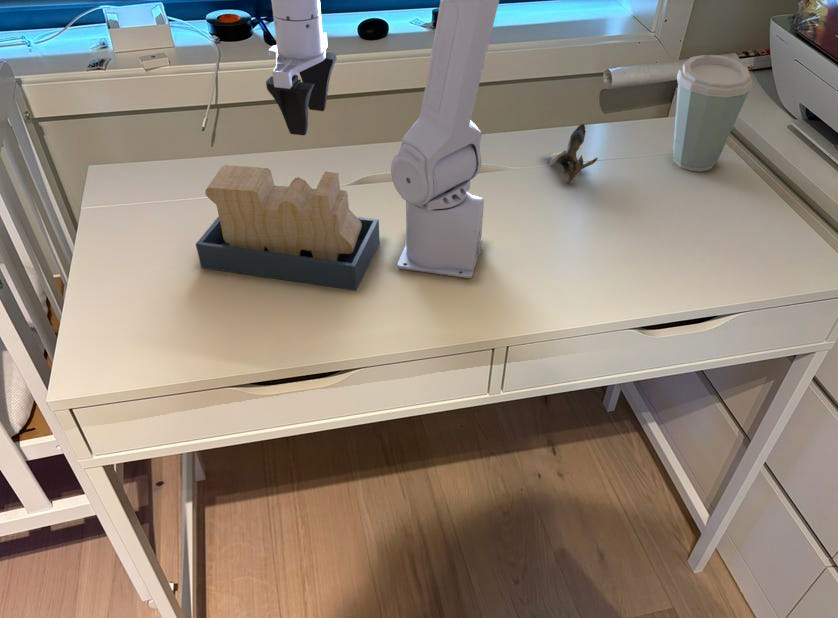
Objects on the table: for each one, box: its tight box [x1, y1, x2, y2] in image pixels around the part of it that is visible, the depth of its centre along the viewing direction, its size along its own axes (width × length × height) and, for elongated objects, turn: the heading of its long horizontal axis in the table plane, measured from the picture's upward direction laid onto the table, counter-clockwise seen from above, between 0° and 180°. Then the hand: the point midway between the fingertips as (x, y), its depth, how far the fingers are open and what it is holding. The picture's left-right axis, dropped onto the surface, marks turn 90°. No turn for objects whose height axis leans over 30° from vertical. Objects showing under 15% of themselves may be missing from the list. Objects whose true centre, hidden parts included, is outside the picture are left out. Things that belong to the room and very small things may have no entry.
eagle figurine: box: [544, 123, 599, 185], centre depth 109 cm, size 8×7×9 cm
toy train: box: [204, 164, 362, 261], centre depth 88 cm, size 6×17×10 cm, turn 84°
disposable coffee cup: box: [672, 54, 753, 172], centre depth 109 cm, size 11×11×15 cm
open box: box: [195, 215, 380, 291], centre depth 91 cm, size 20×11×4 cm, turn 79°
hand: (308, 121), depth 97 cm, fingers open, 7 cm apart
